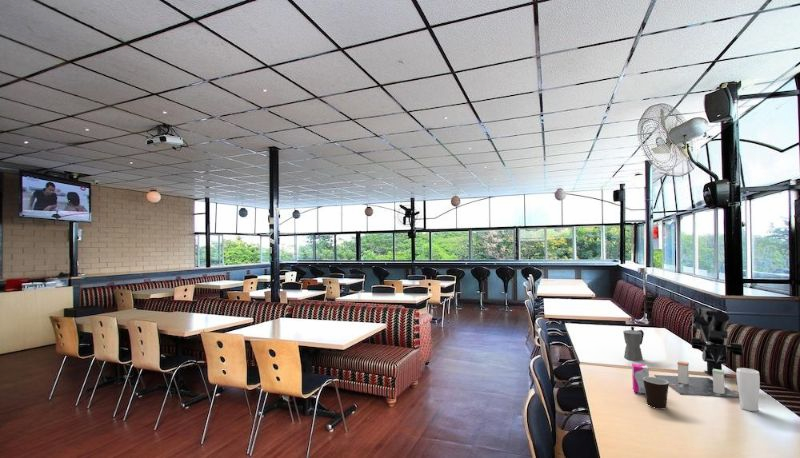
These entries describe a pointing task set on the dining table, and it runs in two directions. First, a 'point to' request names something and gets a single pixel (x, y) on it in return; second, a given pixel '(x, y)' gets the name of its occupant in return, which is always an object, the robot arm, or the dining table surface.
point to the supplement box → (639, 377)
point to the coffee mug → (656, 391)
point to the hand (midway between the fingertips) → (715, 362)
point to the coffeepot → (633, 344)
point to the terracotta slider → (683, 372)
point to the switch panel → (696, 387)
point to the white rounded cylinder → (748, 388)
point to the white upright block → (718, 381)
